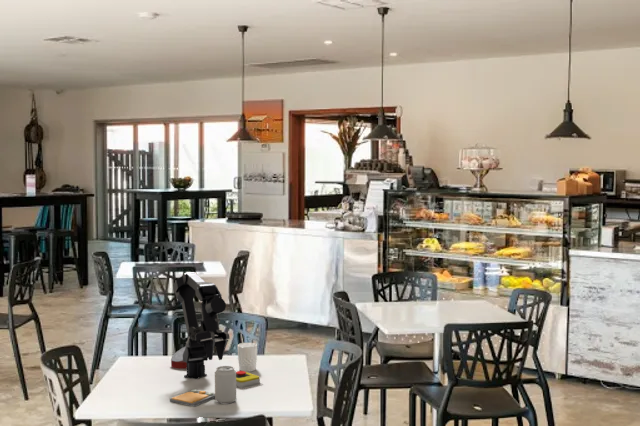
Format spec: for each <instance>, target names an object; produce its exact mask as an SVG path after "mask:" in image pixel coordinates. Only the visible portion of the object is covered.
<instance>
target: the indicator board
mask: <svg viewBox="0 0 640 426" xmlns="http://www.w3.org/2000/svg"><path fill="white" fill-rule="evenodd" d="M210 400H215V392H212V391H209V392H208V391H205V390H199V389H191V390H190V391H186V392H184V393H181V394H178V395H176V396H173V397H170V398H169V402H170V403H176V404H180V405H186V406H191V407H196V406H199V405H201V404H205V403H206V402H209V401H210Z"/></svg>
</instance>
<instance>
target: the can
mask: <svg viewBox="0 0 640 426" xmlns="http://www.w3.org/2000/svg"><path fill="white" fill-rule="evenodd" d="M236 372H237V371H236V370H235V367H234V366H231V365H222V366H221V365H220V366H217V367H216V370H215V371H214V393H215V398H214V400H215V401H216V402H217V403H218V404H222V405H225V404H232V403H234V402H235V401H236V400H237V387H236Z"/></svg>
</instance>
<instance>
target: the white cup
mask: <svg viewBox="0 0 640 426" xmlns="http://www.w3.org/2000/svg"><path fill="white" fill-rule="evenodd" d="M257 358H258V343H254V342H240V343H239V344H237V359H238V371H245V372H253V371H256V369H257V361H258V359H257Z"/></svg>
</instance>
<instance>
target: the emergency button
mask: <svg viewBox="0 0 640 426" xmlns="http://www.w3.org/2000/svg"><path fill="white" fill-rule="evenodd" d="M260 379H261V378H260V376H259V375H257V374H253V373H251V372H249V371H241V370H237V371H236V388H239V389H242V390H247V389H252V388H256V387H260V386H261V387H262V386H264V384H263V382H261V381H260Z"/></svg>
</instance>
